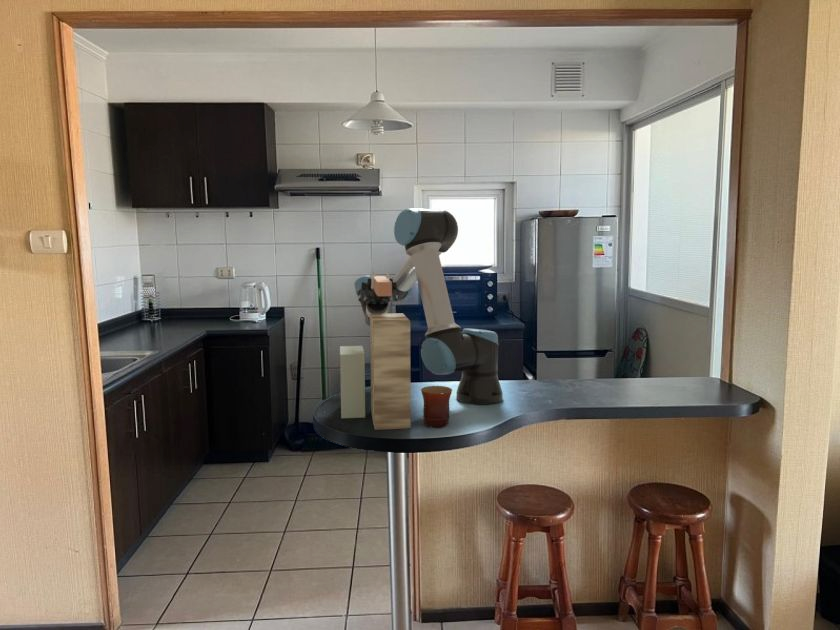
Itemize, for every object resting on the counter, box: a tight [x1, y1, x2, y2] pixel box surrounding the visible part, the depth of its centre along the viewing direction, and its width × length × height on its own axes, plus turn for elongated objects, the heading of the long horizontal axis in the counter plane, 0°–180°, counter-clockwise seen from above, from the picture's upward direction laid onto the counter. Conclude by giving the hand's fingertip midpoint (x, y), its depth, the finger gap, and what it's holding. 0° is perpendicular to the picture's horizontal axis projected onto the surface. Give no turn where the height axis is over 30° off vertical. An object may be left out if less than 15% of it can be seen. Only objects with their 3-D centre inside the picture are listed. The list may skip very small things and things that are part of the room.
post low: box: [339, 345, 366, 419], centre depth 182 cm, size 14×7×19 cm, turn 8°
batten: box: [373, 275, 392, 296], centre depth 184 cm, size 28×4×4 cm, turn 7°
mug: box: [420, 385, 453, 429], centre depth 171 cm, size 12×9×10 cm
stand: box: [369, 313, 412, 431], centre depth 173 cm, size 18×10×30 cm, turn 8°
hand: (380, 275), depth 188 cm, fingers closed on batten, 4 cm apart
